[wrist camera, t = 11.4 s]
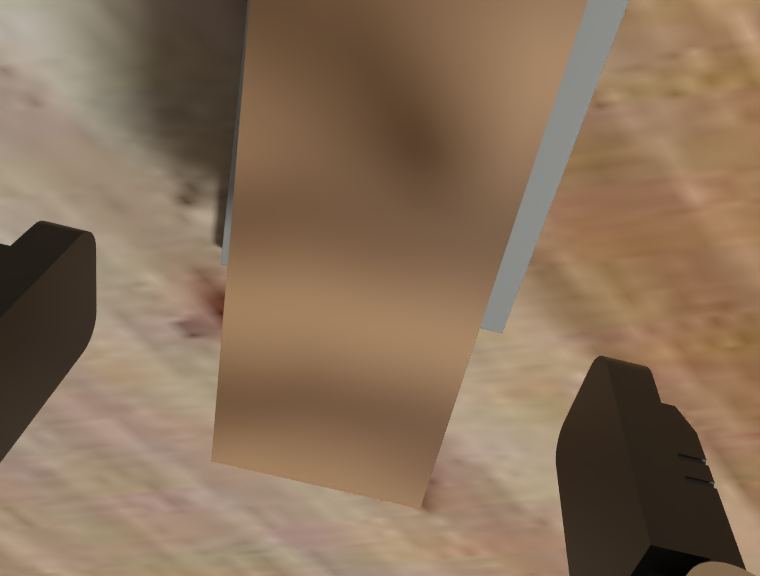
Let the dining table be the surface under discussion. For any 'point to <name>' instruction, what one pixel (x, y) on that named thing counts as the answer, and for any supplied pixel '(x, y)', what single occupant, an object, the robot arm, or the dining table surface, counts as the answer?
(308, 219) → the plank
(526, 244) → the peg stand
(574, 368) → the dining table surface
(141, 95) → the dining table surface
